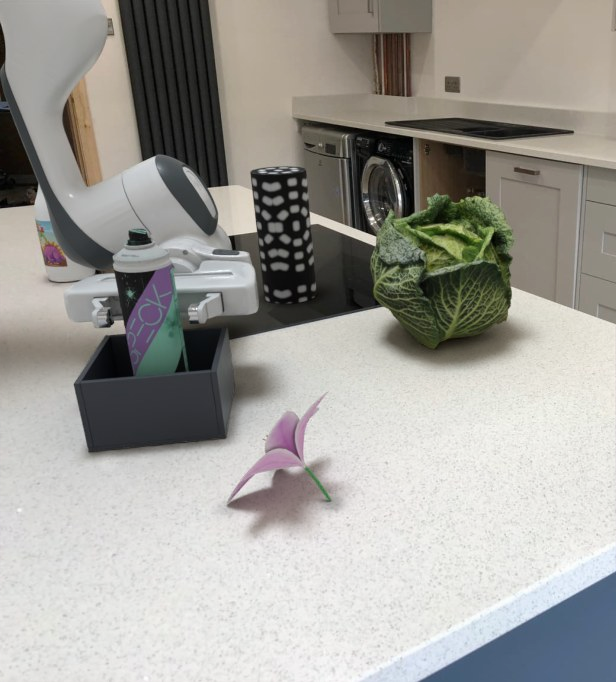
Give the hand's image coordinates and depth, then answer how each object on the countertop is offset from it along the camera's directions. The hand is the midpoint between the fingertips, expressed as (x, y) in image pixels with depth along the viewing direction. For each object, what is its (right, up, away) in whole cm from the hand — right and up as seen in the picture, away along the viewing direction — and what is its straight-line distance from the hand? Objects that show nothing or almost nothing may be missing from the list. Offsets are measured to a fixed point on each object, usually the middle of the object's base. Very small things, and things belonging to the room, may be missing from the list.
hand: (148, 319), depth 75 cm
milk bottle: (-37, +9, +55) cm, 67 cm away
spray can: (0, -10, +5) cm, 11 cm away
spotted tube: (+5, +5, +44) cm, 45 cm away
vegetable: (+30, -1, +28) cm, 41 cm away
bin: (0, -10, +5) cm, 12 cm away
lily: (+16, -16, -9) cm, 25 cm away
